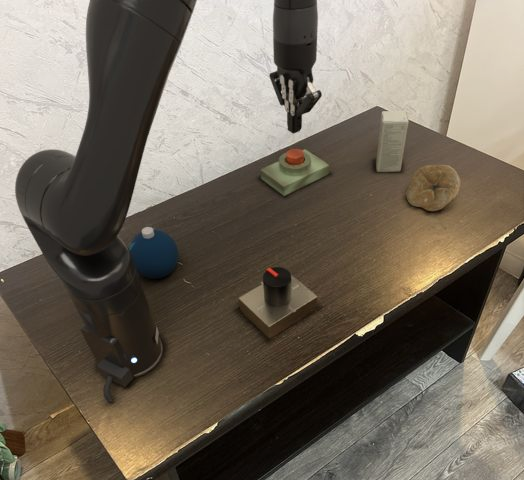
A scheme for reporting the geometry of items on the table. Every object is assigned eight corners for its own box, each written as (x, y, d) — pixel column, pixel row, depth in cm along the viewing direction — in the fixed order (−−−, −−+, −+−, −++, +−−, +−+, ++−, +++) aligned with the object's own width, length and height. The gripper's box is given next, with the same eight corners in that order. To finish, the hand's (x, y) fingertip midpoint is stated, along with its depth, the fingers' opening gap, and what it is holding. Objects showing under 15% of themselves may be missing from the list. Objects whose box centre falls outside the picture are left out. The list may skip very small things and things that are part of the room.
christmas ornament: (145, 253, 94) (132, 209, 86) (188, 259, 92) (178, 214, 84) (128, 285, 89) (112, 240, 81) (173, 291, 87) (161, 246, 79)
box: (399, 160, 108) (408, 110, 99) (400, 172, 106) (410, 121, 97) (374, 160, 109) (381, 110, 100) (375, 172, 106) (382, 121, 97)
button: (293, 168, 102) (293, 160, 101) (282, 160, 104) (282, 152, 103) (307, 161, 103) (307, 153, 102) (296, 154, 105) (296, 146, 104)
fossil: (416, 160, 98) (467, 165, 92) (423, 168, 102) (472, 174, 96) (400, 204, 99) (449, 213, 93) (407, 211, 103) (455, 220, 97)
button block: (284, 196, 102) (283, 178, 99) (261, 178, 107) (260, 161, 103) (328, 174, 106) (329, 157, 103) (304, 158, 111) (305, 141, 107)
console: (270, 340, 79) (269, 327, 77) (238, 309, 84) (237, 296, 81) (318, 310, 83) (318, 296, 80) (285, 282, 87) (284, 268, 85)
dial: (297, 297, 81) (297, 275, 77) (276, 311, 79) (275, 289, 75) (278, 283, 83) (278, 261, 79) (258, 296, 81) (257, 274, 77)
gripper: (254, 27, 87) (259, 124, 101) (302, 51, 80) (300, 151, 94) (288, 16, 90) (288, 112, 103) (337, 38, 83) (331, 137, 96)
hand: (294, 130), depth 98 cm, fingers closed
